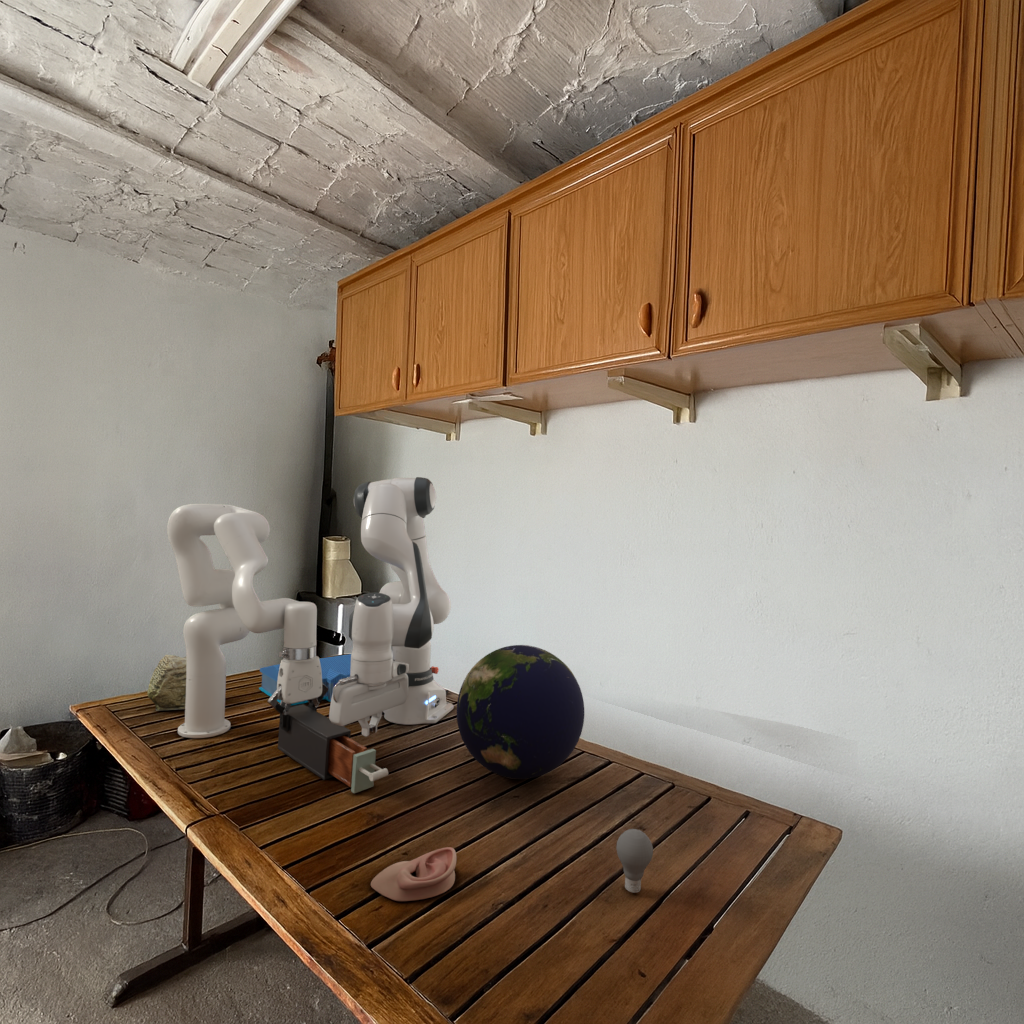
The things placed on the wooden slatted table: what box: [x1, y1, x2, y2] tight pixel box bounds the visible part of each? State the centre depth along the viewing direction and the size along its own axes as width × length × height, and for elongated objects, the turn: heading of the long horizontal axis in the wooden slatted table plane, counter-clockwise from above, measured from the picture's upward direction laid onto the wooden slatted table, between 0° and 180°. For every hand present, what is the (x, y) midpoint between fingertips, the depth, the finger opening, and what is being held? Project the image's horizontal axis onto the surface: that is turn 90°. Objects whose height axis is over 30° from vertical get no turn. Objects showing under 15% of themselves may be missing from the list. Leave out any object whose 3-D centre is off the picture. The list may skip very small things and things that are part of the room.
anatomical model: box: [370, 846, 458, 902], centre depth 106 cm, size 13×4×12 cm
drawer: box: [327, 735, 389, 794], centre depth 141 cm, size 25×5×8 cm, turn 49°
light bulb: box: [615, 828, 654, 894], centre depth 106 cm, size 6×6×10 cm
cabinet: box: [277, 703, 352, 781], centre depth 150 cm, size 21×6×10 cm, turn 49°
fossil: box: [147, 654, 187, 712], centre depth 185 cm, size 9×18×15 cm, turn 132°
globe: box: [456, 644, 585, 780], centre depth 149 cm, size 30×30×30 cm
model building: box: [258, 653, 351, 707], centre depth 208 cm, size 39×24×10 cm, turn 132°
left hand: (298, 725), depth 155 cm, fingers closed on cabinet, 6 cm apart
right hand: (369, 734), depth 136 cm, fingers closed
